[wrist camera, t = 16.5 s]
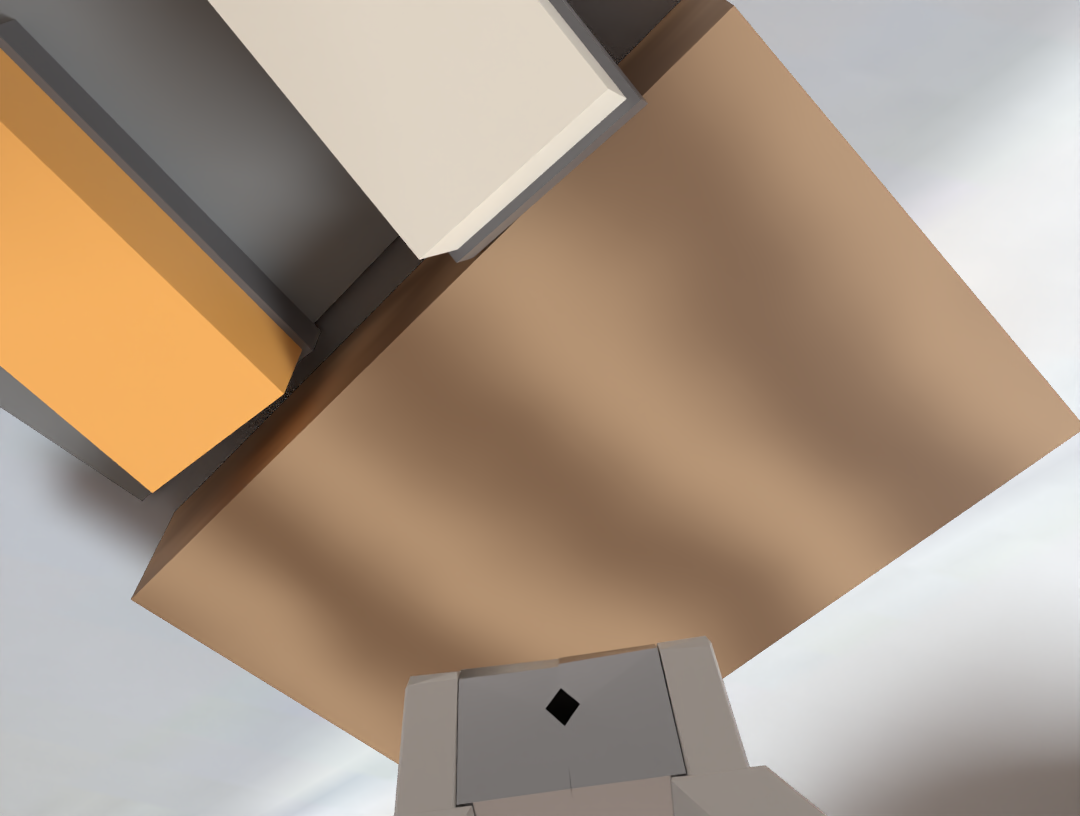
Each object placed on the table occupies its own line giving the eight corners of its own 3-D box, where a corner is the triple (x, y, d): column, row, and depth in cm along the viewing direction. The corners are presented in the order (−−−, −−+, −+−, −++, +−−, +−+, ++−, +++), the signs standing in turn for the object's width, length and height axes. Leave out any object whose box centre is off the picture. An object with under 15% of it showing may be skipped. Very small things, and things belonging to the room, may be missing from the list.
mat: (146, 493, 29) (142, 501, 29) (-236, 238, 25) (-247, 243, 25) (577, 46, 23) (578, 49, 23) (171, -389, 19) (164, -393, 19)
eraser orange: (192, 429, 28) (153, 502, 25) (-117, 153, 24) (-213, 199, 20) (320, 331, 26) (295, 395, 23) (15, 19, 22) (-66, 45, 19)
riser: (504, 732, 35) (504, 829, 31) (174, 512, 30) (130, 599, 26) (1012, 356, 28) (1085, 427, 24) (698, -18, 23) (734, 5, 19)
